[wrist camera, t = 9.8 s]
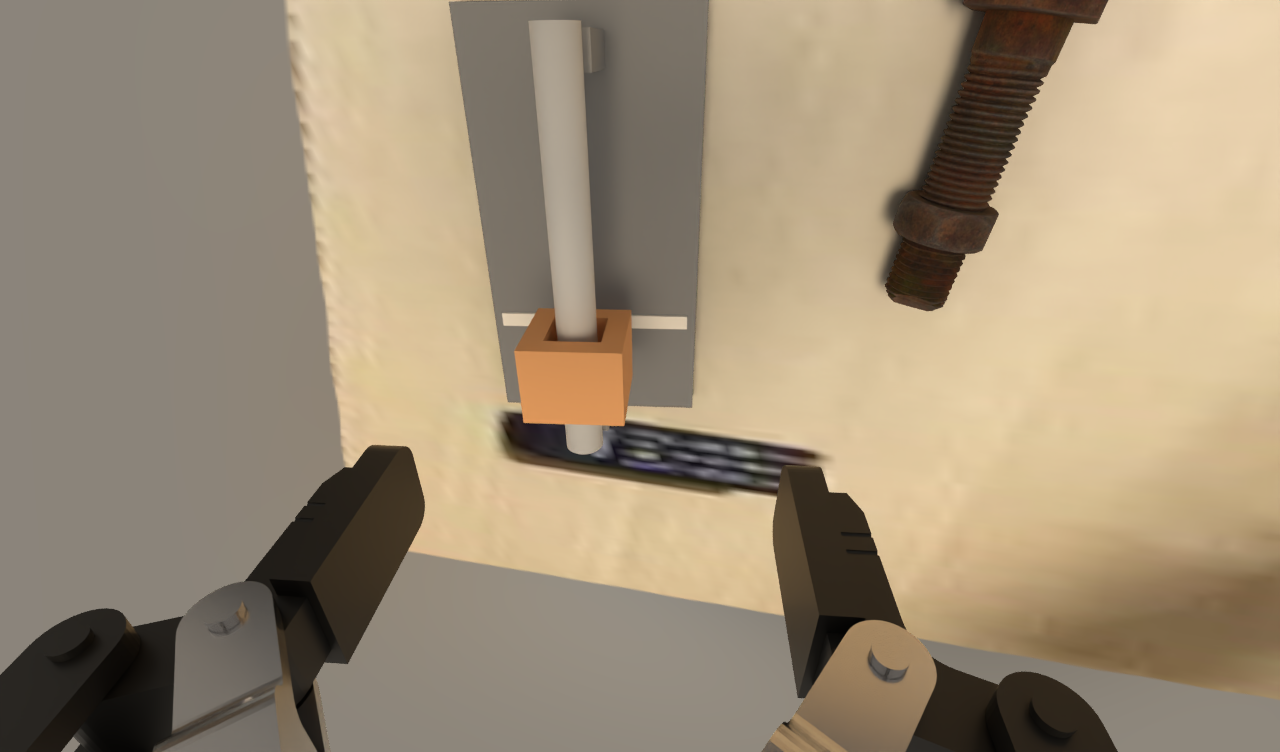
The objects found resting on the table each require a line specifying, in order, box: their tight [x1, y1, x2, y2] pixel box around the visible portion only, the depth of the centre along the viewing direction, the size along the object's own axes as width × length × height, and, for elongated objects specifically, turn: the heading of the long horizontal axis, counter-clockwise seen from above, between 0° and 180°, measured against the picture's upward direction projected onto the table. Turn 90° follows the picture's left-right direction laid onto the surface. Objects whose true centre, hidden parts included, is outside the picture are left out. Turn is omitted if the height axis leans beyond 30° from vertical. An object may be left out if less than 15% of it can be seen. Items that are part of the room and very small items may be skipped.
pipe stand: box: [449, 0, 709, 454], centre depth 30 cm, size 22×12×8 cm, turn 1°
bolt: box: [885, 0, 1108, 311], centre depth 28 cm, size 6×5×15 cm
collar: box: [514, 308, 633, 426], centre depth 30 cm, size 4×5×5 cm
